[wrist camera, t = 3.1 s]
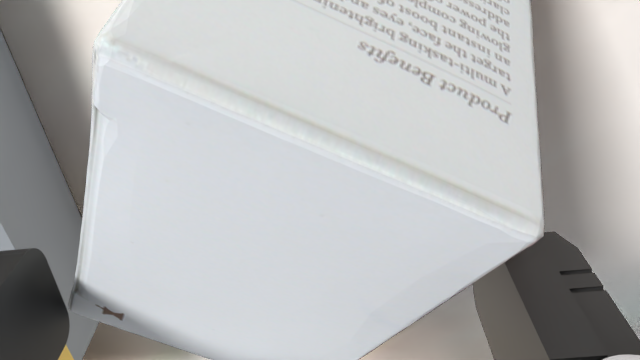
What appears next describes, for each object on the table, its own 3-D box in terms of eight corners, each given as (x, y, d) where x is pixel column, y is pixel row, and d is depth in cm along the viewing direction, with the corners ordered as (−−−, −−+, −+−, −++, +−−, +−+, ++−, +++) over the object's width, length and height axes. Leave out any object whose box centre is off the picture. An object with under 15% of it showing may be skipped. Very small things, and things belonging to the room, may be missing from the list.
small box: (374, 81, 19) (311, 400, 13) (214, 9, 18) (60, 318, 12) (532, -149, 13) (564, 248, 7) (304, -279, 12) (81, 46, 6)
